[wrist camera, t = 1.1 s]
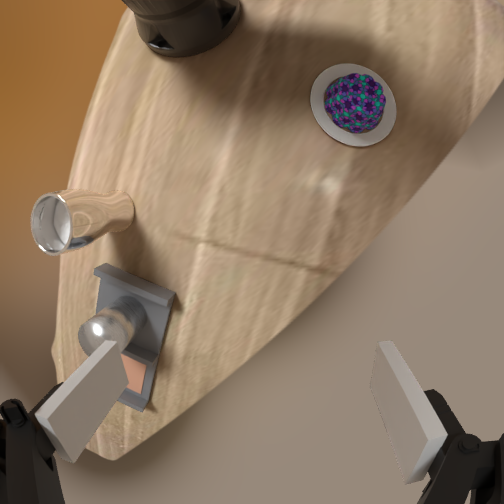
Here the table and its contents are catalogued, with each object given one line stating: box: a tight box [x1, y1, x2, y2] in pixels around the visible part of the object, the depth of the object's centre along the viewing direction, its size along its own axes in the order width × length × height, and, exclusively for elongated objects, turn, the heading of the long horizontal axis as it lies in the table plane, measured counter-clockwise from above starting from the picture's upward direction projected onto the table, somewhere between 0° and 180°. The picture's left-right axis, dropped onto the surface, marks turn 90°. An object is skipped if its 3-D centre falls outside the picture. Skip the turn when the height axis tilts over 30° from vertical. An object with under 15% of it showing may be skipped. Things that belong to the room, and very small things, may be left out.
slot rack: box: [94, 263, 176, 412], centre depth 43 cm, size 23×12×3 cm, turn 160°
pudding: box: [310, 63, 396, 146], centre depth 32 cm, size 12×12×5 cm
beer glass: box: [31, 189, 134, 256], centre depth 33 cm, size 7×7×15 cm
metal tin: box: [78, 295, 147, 356], centre depth 38 cm, size 6×6×10 cm
